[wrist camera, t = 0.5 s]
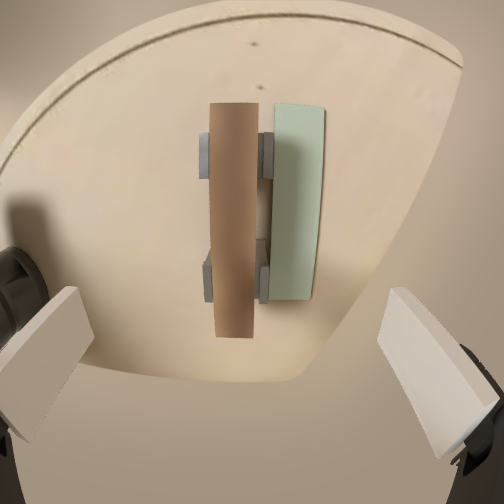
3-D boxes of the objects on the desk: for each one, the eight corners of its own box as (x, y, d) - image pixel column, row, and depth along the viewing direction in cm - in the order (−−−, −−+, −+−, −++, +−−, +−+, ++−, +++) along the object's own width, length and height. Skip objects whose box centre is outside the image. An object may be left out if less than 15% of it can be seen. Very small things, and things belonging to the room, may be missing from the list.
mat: (268, 297, 35) (268, 299, 35) (275, 104, 27) (275, 103, 26) (309, 297, 35) (309, 299, 35) (322, 108, 27) (324, 107, 26)
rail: (220, 313, 28) (215, 337, 24) (217, 111, 21) (210, 103, 17) (253, 314, 28) (253, 338, 24) (257, 111, 21) (258, 103, 17)
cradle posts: (214, 268, 34) (204, 302, 26) (212, 137, 28) (199, 132, 21) (264, 269, 34) (267, 303, 26) (268, 137, 28) (273, 132, 21)
